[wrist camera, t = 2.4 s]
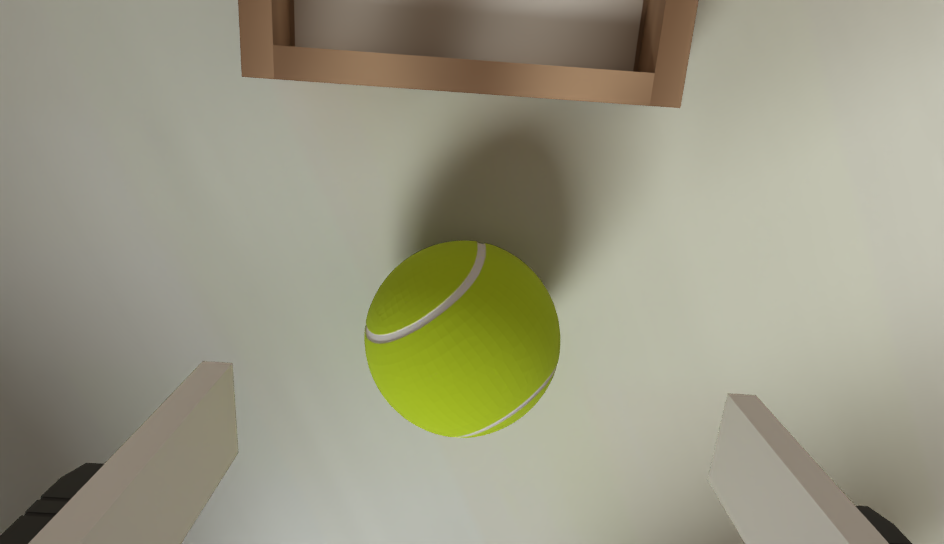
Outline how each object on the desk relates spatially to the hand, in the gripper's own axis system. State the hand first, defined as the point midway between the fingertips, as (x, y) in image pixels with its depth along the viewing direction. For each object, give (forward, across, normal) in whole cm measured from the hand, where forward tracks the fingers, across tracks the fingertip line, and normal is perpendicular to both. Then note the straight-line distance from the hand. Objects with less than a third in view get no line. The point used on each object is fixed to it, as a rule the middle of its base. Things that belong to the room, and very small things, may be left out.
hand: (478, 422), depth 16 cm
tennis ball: (+10, -1, 0) cm, 10 cm away
